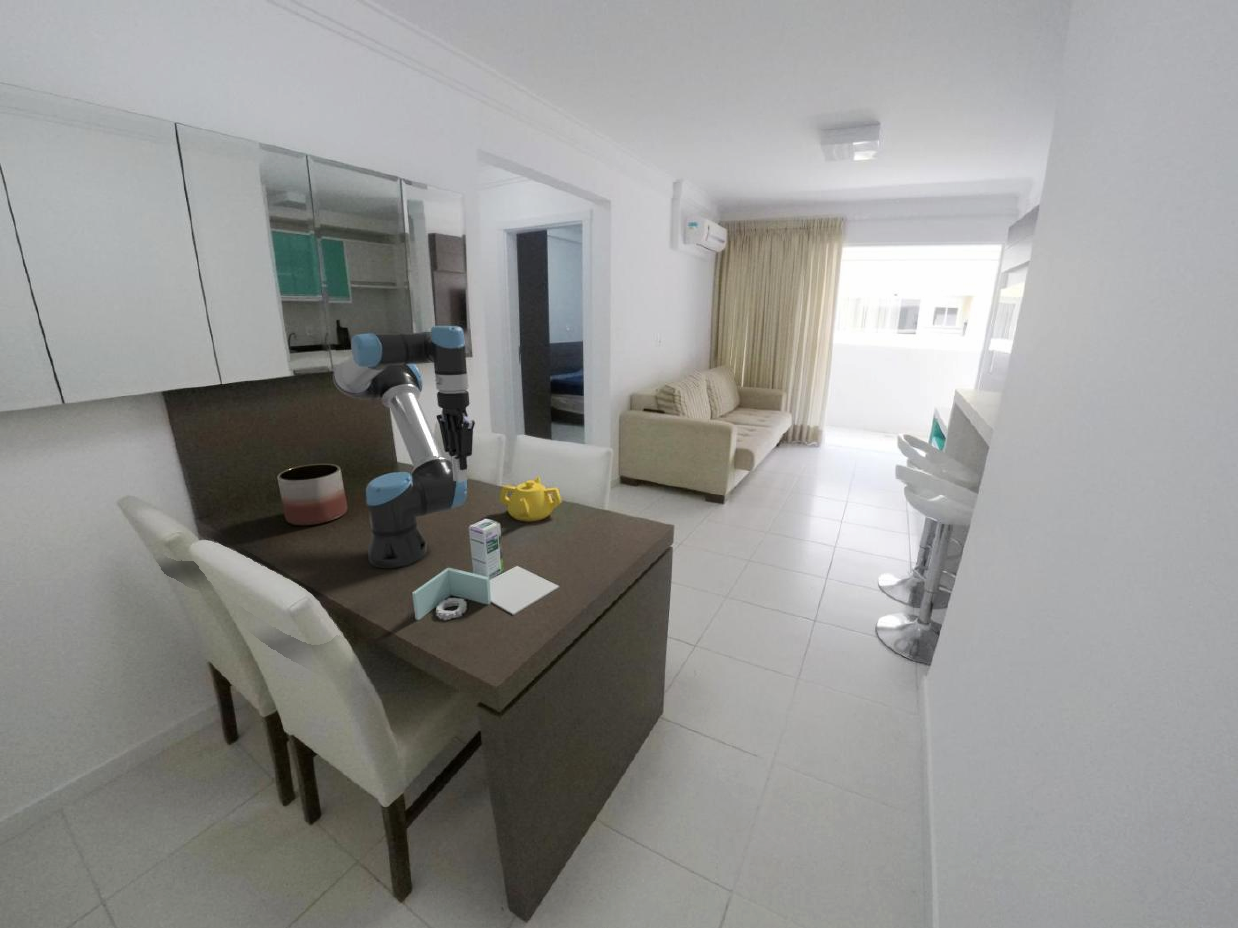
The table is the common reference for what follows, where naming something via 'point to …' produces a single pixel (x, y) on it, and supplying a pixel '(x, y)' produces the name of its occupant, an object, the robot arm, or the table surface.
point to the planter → (312, 494)
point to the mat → (518, 589)
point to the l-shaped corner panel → (451, 593)
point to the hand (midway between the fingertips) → (460, 480)
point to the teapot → (530, 500)
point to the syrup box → (486, 548)
